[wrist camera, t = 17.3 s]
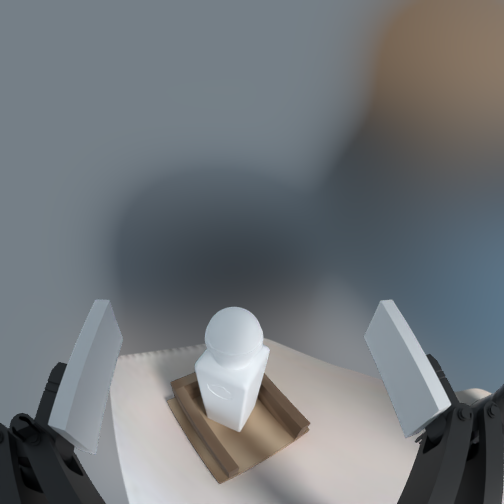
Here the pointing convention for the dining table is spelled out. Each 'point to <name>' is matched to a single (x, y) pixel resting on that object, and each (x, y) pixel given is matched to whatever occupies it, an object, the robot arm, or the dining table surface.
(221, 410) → the white plastic bottle
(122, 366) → the dining table surface
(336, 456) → the dining table surface
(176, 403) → the walnut holder
